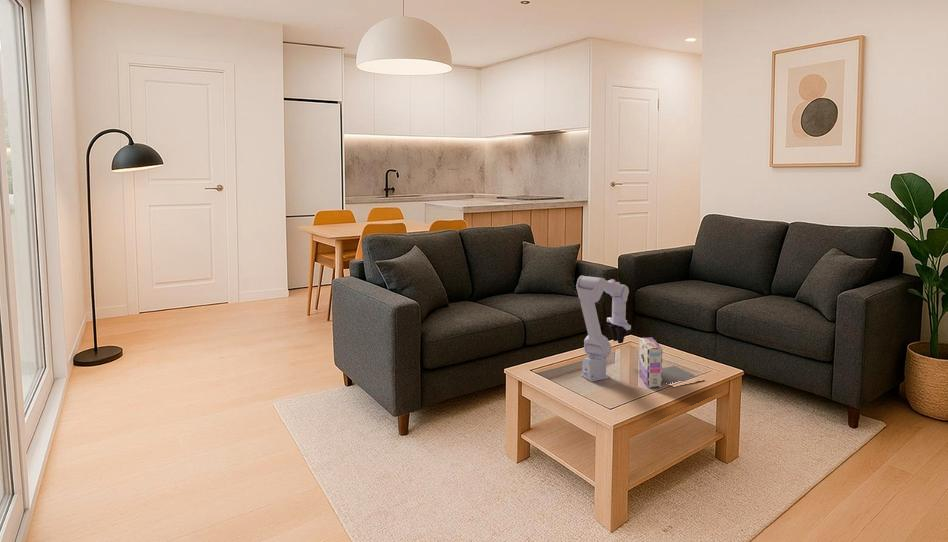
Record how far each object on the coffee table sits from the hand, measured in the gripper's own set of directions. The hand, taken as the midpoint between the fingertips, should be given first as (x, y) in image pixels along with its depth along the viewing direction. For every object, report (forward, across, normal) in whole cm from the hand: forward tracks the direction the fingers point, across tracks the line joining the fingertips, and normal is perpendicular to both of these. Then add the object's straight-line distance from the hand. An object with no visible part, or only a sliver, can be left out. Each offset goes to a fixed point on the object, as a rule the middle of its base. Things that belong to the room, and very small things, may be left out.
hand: (618, 341), depth 261 cm
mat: (+10, -22, -12) cm, 27 cm away
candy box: (+10, -22, 0) cm, 24 cm away
